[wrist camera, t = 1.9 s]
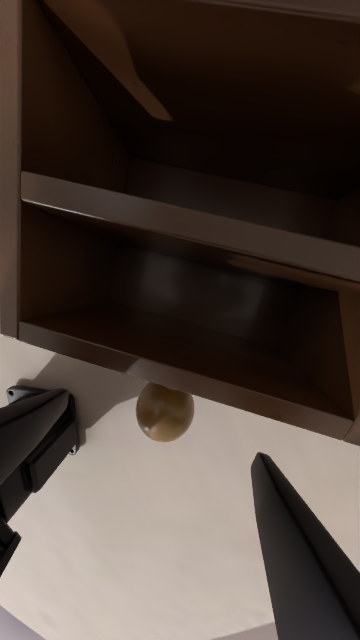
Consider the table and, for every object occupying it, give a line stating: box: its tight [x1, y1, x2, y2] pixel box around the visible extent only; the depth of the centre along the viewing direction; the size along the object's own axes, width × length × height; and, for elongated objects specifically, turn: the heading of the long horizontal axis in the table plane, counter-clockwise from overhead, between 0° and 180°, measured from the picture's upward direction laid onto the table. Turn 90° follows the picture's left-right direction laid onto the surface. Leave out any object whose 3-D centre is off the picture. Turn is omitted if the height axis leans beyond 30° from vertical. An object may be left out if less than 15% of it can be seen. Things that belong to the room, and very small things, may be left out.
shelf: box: [0, 0, 360, 446], centre depth 8 cm, size 14×13×7 cm
